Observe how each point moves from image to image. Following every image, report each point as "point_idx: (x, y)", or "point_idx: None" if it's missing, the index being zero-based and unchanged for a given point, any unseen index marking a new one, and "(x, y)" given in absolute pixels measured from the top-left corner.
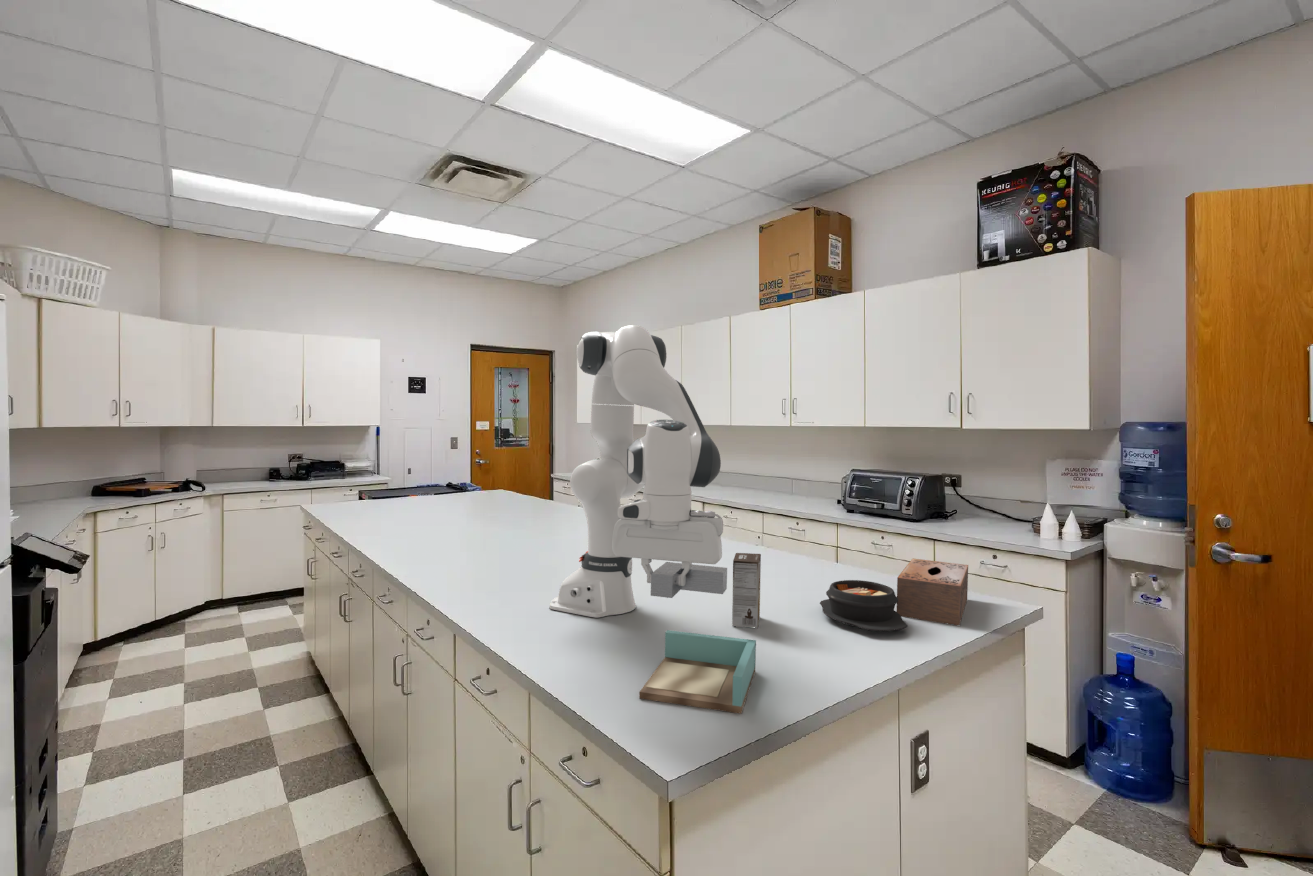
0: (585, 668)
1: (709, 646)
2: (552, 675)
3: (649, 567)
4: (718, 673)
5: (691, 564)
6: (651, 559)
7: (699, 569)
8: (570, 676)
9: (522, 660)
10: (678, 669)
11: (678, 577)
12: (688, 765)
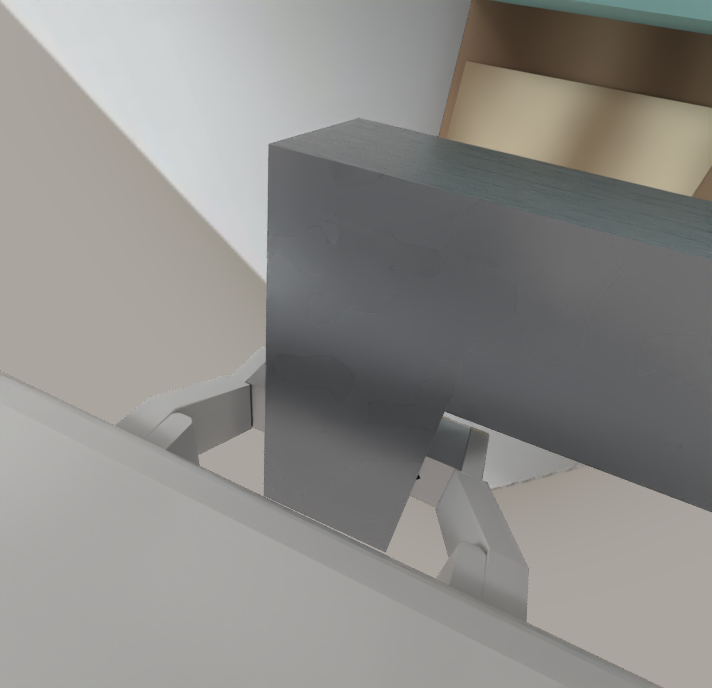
0: (243, 106)
1: (693, 24)
2: (196, 165)
3: (214, 416)
4: (674, 159)
5: (522, 590)
6: (178, 438)
7: (644, 461)
8: (232, 167)
9: (93, 75)
10: (515, 138)
11: (427, 498)
12: (495, 478)
